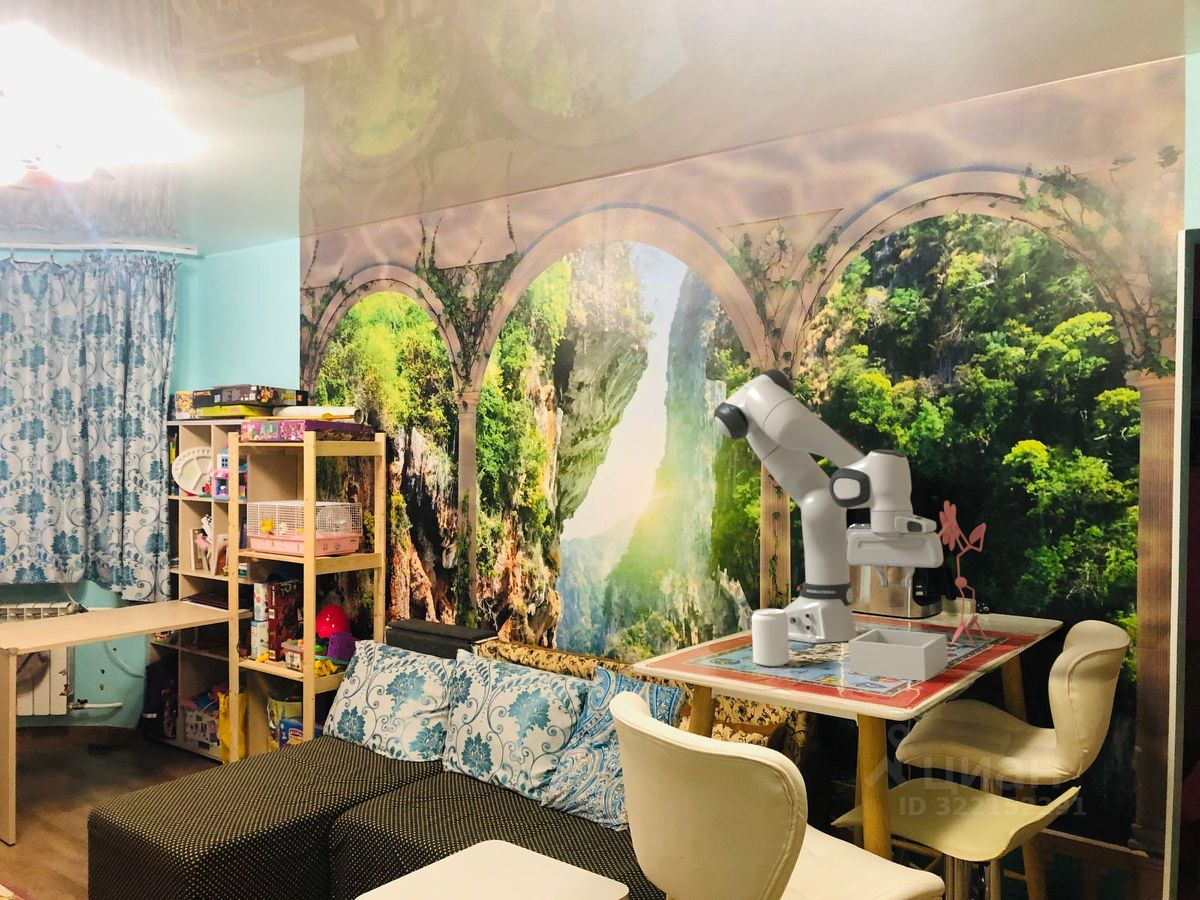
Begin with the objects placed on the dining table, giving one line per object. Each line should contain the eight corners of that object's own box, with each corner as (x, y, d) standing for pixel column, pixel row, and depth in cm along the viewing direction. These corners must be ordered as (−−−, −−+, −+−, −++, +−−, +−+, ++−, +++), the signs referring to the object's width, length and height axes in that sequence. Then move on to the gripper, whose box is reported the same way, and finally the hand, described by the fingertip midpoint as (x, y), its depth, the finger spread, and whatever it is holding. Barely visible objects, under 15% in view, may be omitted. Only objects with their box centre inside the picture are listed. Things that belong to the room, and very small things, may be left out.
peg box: (849, 673, 195) (848, 641, 195) (875, 659, 208) (874, 628, 208) (925, 682, 186) (923, 648, 186) (947, 666, 199) (946, 634, 199)
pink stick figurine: (1000, 634, 230) (991, 496, 231) (968, 654, 210) (958, 503, 211) (939, 630, 239) (930, 498, 240) (903, 648, 219) (893, 504, 220)
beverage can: (746, 662, 210) (744, 610, 210) (776, 658, 213) (774, 607, 213) (766, 669, 202) (764, 615, 202) (796, 664, 205) (794, 611, 205)
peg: (887, 607, 197) (884, 560, 197) (891, 604, 199) (889, 559, 199) (901, 607, 195) (898, 561, 195) (905, 605, 197) (903, 559, 197)
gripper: (840, 524, 201) (844, 587, 201) (934, 524, 189) (938, 591, 188) (851, 522, 206) (854, 583, 206) (943, 522, 194) (947, 587, 193)
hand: (895, 587), depth 197 cm, fingers closed on peg, 3 cm apart
